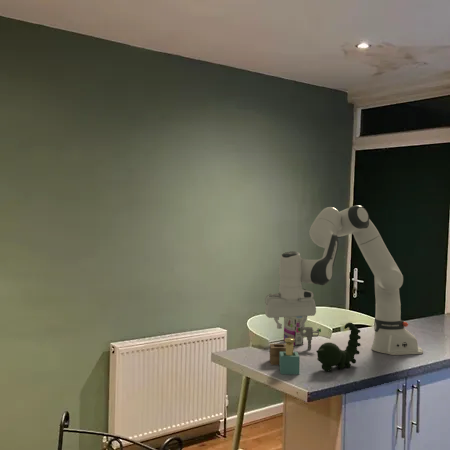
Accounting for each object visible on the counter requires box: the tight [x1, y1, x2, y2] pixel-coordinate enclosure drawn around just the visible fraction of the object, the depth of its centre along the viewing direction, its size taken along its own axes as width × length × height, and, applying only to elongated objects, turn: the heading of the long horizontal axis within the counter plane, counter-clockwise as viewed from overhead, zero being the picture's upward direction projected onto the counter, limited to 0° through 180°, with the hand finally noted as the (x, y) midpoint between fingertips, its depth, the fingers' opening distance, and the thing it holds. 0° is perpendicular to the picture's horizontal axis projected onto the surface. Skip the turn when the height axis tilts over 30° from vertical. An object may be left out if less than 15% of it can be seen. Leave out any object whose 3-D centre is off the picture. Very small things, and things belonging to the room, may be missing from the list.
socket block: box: [278, 351, 301, 375], centre depth 213 cm, size 7×7×7 cm
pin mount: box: [269, 343, 286, 366], centre depth 226 cm, size 7×7×7 cm
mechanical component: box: [298, 326, 322, 351], centre depth 248 cm, size 3×10×10 cm, turn 78°
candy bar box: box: [283, 316, 304, 346], centre depth 260 cm, size 11×5×16 cm, turn 23°
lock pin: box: [284, 338, 295, 356], centre depth 213 cm, size 4×4×13 cm
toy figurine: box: [315, 322, 362, 372], centre depth 218 cm, size 9×19×25 cm
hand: (290, 327), depth 212 cm, fingers open, 8 cm apart
